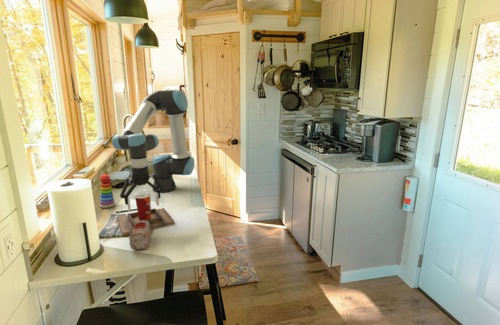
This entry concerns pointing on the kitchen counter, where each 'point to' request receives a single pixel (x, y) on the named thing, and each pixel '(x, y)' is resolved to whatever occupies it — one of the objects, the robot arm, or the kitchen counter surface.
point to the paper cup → (143, 205)
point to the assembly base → (157, 220)
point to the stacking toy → (106, 193)
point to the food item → (140, 235)
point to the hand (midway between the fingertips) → (143, 207)
